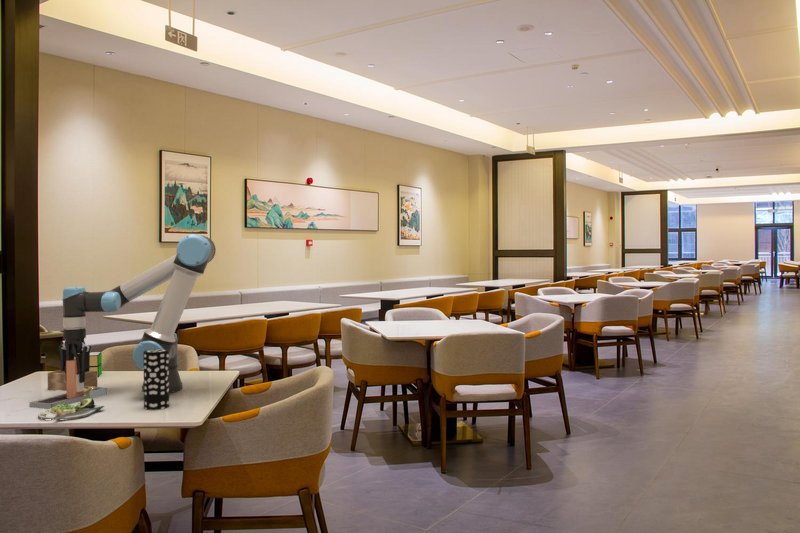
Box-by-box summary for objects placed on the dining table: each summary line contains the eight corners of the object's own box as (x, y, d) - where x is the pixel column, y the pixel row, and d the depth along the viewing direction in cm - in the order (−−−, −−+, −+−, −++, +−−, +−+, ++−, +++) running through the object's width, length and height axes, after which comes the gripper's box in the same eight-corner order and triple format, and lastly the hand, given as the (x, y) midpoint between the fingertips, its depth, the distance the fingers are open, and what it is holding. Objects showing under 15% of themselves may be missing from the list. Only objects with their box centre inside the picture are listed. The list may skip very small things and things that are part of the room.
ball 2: (99, 390, 242) (95, 384, 240) (94, 396, 240) (90, 390, 238) (92, 390, 243) (89, 384, 241) (87, 396, 241) (83, 390, 239)
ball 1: (91, 391, 239) (86, 385, 238) (86, 397, 236) (81, 391, 235) (85, 392, 240) (80, 386, 239) (80, 398, 237) (75, 392, 236)
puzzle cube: (77, 374, 284) (77, 353, 284) (102, 373, 287) (101, 351, 287) (73, 378, 275) (73, 356, 275) (98, 377, 278) (98, 355, 278)
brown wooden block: (97, 388, 254) (97, 371, 254) (79, 392, 246) (79, 375, 246) (66, 385, 260) (66, 368, 260) (47, 389, 251) (47, 372, 251)
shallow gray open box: (90, 399, 234) (90, 394, 234) (50, 410, 218) (50, 404, 218) (69, 397, 237) (69, 392, 237) (29, 408, 221) (29, 402, 221)
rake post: (83, 396, 235) (83, 359, 234) (75, 399, 231) (74, 361, 231) (75, 396, 236) (75, 359, 236) (66, 398, 232) (66, 360, 232)
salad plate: (80, 424, 201) (79, 409, 201) (25, 424, 201) (24, 409, 201) (109, 409, 220) (109, 396, 220) (59, 409, 220) (58, 396, 220)
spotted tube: (161, 403, 227) (160, 348, 227) (173, 406, 222) (173, 350, 222) (139, 407, 221) (138, 351, 221) (151, 411, 216) (151, 353, 215)
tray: (106, 395, 241) (106, 387, 241) (90, 399, 234) (89, 391, 234) (86, 393, 245) (86, 386, 244) (69, 397, 237) (69, 390, 237)
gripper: (100, 327, 234) (101, 390, 234) (65, 326, 239) (66, 387, 240) (84, 330, 227) (84, 394, 227) (48, 328, 232) (49, 391, 233)
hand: (75, 390), depth 233 cm, fingers closed on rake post, 4 cm apart
